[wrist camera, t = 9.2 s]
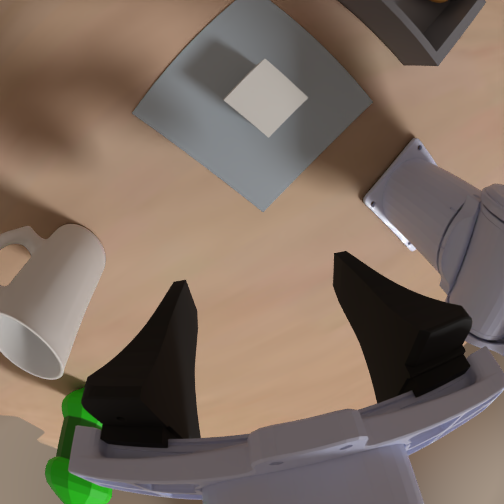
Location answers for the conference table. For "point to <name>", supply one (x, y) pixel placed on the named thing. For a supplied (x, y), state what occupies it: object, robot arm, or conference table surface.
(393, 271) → the conference table surface
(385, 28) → the bin
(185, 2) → the conference table surface
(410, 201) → the robot arm
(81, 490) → the plastic bottle
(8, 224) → the conference table surface
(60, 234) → the mug
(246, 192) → the bin lid
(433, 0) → the orange ball
